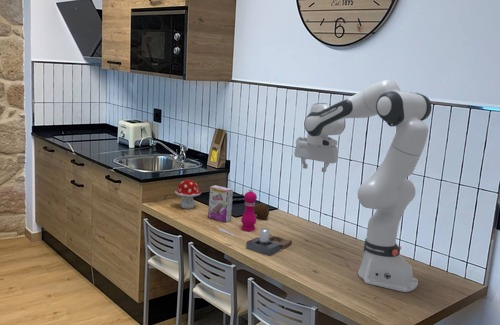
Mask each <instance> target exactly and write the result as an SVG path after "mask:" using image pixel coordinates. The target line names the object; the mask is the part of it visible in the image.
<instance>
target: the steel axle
mask: <svg viewBox="0 0 500 325" xmlns="http://www.w3.org/2000/svg"><path fill="white" fill-rule="evenodd" d="M269 234H270V228H266V227H261V228H260V229H259V238H260V239H259V245H262V246H268V243H269Z"/></svg>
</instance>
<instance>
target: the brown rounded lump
mask: <svg viewBox="0 0 500 325" xmlns="http://www.w3.org/2000/svg"><path fill="white" fill-rule="evenodd" d="M254 213H255V216H256V217H257V218H259V219H261V220H266V219H267V218H268V217H269V215H270V208H269V207H268V205H266V203H263V202H261V203H255V206H254Z"/></svg>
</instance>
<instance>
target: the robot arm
mask: <svg viewBox="0 0 500 325" xmlns="http://www.w3.org/2000/svg"><path fill="white" fill-rule="evenodd" d="M399 86H400V85H398V83H397V82H396V81H394V80H392V79H383V80H380V81H377V82H375V83H373V84H371V85H369V86H368V87H366V88H364V89H363V90H361V91H359V92H357V93H355V94H353V95H352V96H350V97H347V98H345V99H344V100H341V101H339V102H337V103H335V104H332V105H330V104H329V103H326V102H323V103H322V102H317V103H314V104H312V105H311V107H310V110H309V113H308V114H307V116H306V117H305V119H304V124H303V127H304V129H305V131H306V132H307V137H302V136H300V137H297V138H296V139H295V140H296V141H295V148H294V152H293V153H294V157H295V158H299V159H300V161H301V163H302V169H308V164H307V162H306V160H312V161H317V162H323V163H324V167H321V172H322V173H326V172H327V168H328V167H329V165H330V164H332V165H333V164H337V162H338V160H339V150H338V149H339V148H338V147H337V145H338V140H336V139H335V138H332V137H330V136H339V135H341V134H342V133H343V132H344V131H345V129H346V119H364V118H367V119H368V118H371V117H374V116H376V115H377V116H378V117H379V118H380V119H381V120H383V121H384V122H385V123H386V124H387V125H388V126H389V127H395V134H394V137H393V139H392V142H391V144H390V146H389V148H388V151H387V152H386V155H385V157H384V158H383V161H382V162H381V164H380V165H379V167H378V168H377V169H376V170H375V171H374V173H373V174H372V175H371V176H370V178H368V179H367V180H366V181H363V183H361V185H360V186H359V187H358V189H357V199H358V202H359V204H360V205H361V206H362V207H363V208H366V209H371V210H372V209H373V210H376V211H375V212H374V213H373V214H372V216H371V217H369V219H368V221H367V230H366V238H365V239H364V243H363V256H362V261H361V263H360V267H359V270H358V272H357V275H358V276H359V278H361V279H362V280H363V281H364V283H366V284H368V285H372V286H377V287H380V288H386V289H389V290H394V291H399V292H402V293H403V292H404V293H409V292H413V291H415V289H417V288H418V285H419V280H418V279H417V278H416V277H413V276H414V275H413V268H412V265H411V264H410V263H409V262H408V261H407V260H406V259H405V258H404V257H403V256H402V255H401V250H402V246H399V245H398V244H397V239H398V238H397V237H398V236H397V235H398V231H399V230H398V229H399V225H400V222H401V219H402V217H403V215H404V212H405V210H406V209H407V207H408V205H409V204H410V203H411V202H412V201H413V200H414V198H415V197H416V186H415V185H414V183H413V181H412V180H410V179H408V177H409V176H411V175H412V174H413V173H414V171H415V169H416V167H417V165H418V163H419V160H420V157H421V156H422V153H423V151H424V148H425V145H426V142H427V138H428V135H429V127H428V125H427V124H426V123H425V120H427V119H428V117H429V116H430V115H431V112H432V102H431V100H430V99H429V97H428V96H426V95H424V94H422V93H418V92H411V91H401V88H400V87H399Z"/></svg>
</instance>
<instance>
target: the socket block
mask: <svg viewBox="0 0 500 325" xmlns="http://www.w3.org/2000/svg"><path fill="white" fill-rule="evenodd" d="M259 239H260V236H259V237H258V236H257V237H255V238H251V239H250V240H247V241H246V243H245V249H247V250H250V251H253V252H256V253H259V254H263V255H266V256H268V257H270V256H272V255H274V254H276V253H279V251H281V249H280V246H281V244H279V242H277V241H273V242H272V241H269V243H268V246H262V245H259ZM276 242H277V243H276Z"/></svg>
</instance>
